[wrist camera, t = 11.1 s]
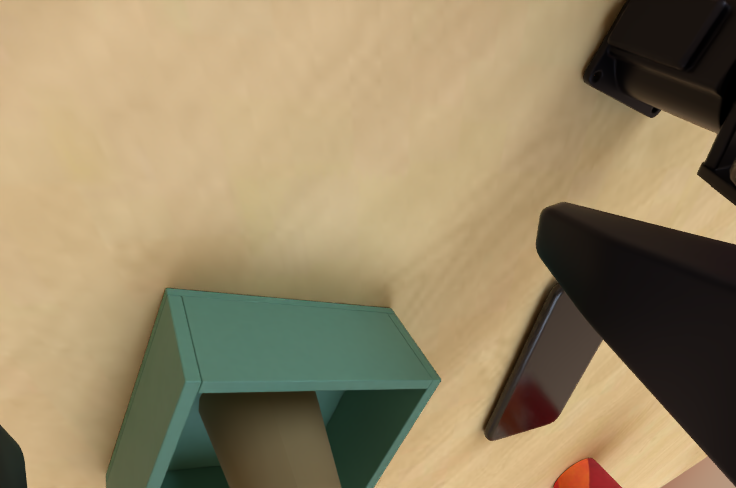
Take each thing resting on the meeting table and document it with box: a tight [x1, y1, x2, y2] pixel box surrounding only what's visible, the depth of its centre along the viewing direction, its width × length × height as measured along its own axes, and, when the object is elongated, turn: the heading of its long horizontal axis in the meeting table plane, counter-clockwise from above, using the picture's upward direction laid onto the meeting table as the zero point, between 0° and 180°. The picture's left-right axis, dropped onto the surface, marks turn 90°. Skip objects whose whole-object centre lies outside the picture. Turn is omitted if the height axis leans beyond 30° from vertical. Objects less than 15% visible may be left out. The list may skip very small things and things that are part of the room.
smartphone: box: [484, 283, 603, 441], centre depth 39 cm, size 8×1×16 cm
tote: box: [106, 288, 441, 488], centre depth 26 cm, size 12×12×6 cm
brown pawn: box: [199, 391, 341, 488], centre depth 24 cm, size 6×6×11 cm
